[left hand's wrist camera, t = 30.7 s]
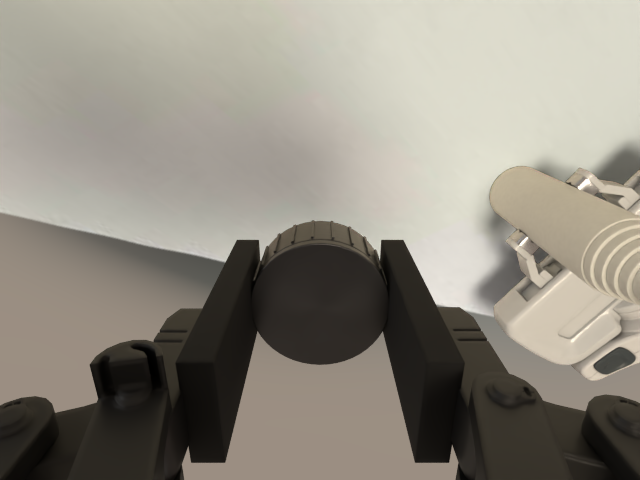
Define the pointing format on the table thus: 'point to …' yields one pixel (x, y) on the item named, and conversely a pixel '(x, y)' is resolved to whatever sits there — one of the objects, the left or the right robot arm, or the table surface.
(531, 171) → the bottle
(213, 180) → the table surface
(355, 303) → the cap
